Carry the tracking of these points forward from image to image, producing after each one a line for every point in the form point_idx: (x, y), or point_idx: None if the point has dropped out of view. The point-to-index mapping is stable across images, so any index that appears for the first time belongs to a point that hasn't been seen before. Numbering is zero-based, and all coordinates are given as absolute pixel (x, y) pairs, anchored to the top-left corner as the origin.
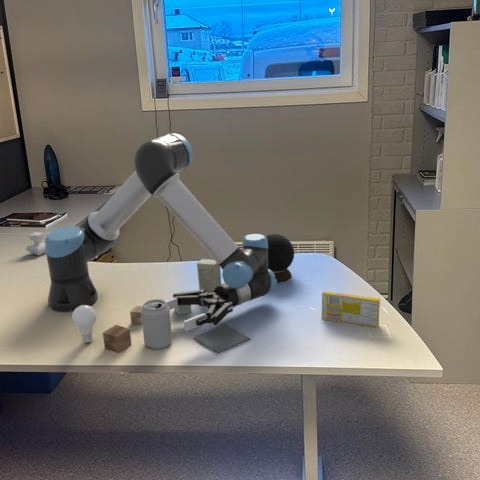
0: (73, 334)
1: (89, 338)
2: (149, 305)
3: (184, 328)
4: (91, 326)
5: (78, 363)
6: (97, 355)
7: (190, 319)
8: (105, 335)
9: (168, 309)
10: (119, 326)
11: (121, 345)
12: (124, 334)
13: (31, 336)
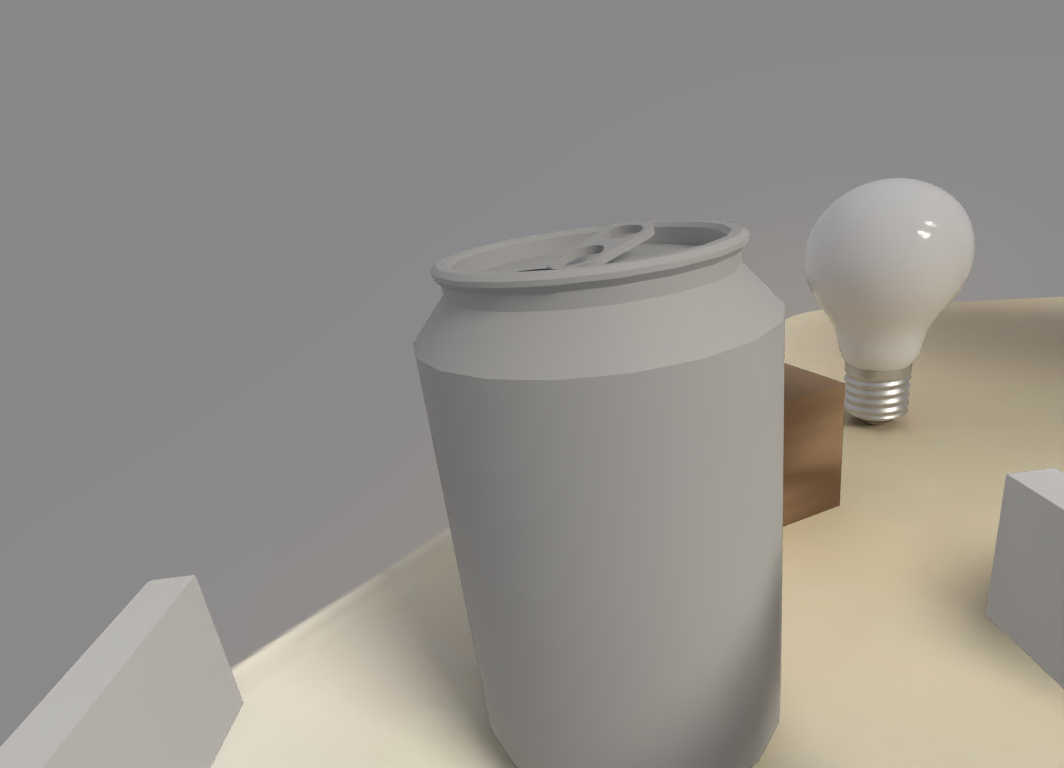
0: (1007, 394)
1: (849, 392)
2: (635, 253)
3: (228, 678)
4: (840, 319)
5: None
6: None
7: (90, 666)
8: None
9: (451, 366)
10: (801, 392)
11: None
12: None
13: (1011, 328)
